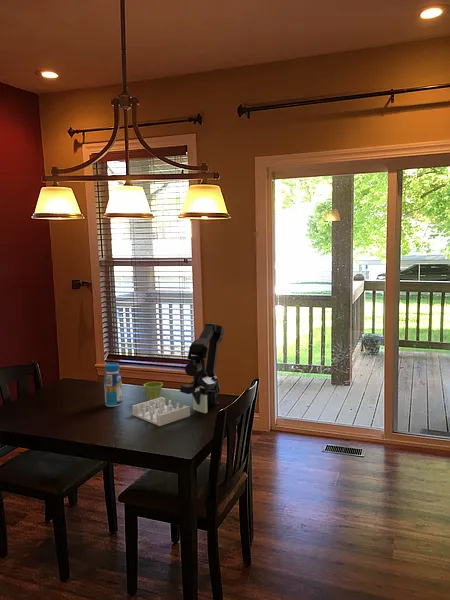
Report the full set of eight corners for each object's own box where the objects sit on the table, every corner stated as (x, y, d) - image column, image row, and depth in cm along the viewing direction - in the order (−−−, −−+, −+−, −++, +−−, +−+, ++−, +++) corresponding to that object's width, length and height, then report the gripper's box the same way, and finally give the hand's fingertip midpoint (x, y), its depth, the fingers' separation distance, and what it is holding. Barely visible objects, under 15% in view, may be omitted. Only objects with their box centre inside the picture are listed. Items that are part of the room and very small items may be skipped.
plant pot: (150, 405, 230) (149, 388, 229) (140, 401, 237) (140, 384, 236) (167, 401, 236) (166, 384, 235) (156, 397, 243) (156, 380, 242)
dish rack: (162, 406, 229) (162, 397, 229) (189, 415, 215) (189, 406, 215) (132, 415, 217) (132, 405, 217) (159, 426, 203) (159, 415, 203)
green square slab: (195, 408, 220) (195, 391, 219) (207, 412, 214) (207, 395, 213) (193, 409, 219) (192, 392, 218) (204, 413, 213) (204, 395, 212)
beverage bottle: (102, 403, 234) (100, 364, 232) (118, 400, 239) (116, 361, 237) (109, 408, 227) (107, 367, 225) (125, 404, 232) (123, 364, 230)
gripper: (195, 377, 202) (196, 413, 204) (226, 369, 215) (227, 403, 217) (178, 373, 210) (179, 407, 212) (209, 365, 223) (210, 397, 225)
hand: (200, 404), depth 216 cm, fingers closed on green square slab, 2 cm apart
